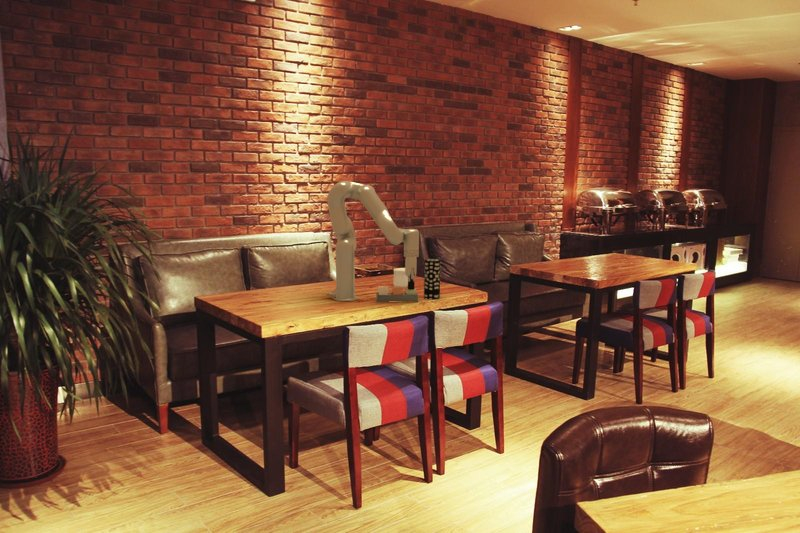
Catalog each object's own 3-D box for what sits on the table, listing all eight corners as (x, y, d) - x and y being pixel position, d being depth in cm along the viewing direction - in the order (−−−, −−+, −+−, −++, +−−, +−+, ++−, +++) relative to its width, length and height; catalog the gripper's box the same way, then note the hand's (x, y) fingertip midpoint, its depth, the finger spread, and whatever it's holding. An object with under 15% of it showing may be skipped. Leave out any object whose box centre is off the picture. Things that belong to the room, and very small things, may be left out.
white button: (378, 297, 325) (378, 288, 324) (378, 296, 330) (378, 286, 329) (388, 297, 326) (388, 288, 325) (387, 295, 330) (387, 286, 329)
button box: (376, 302, 324) (377, 295, 324) (376, 299, 331) (376, 292, 330) (417, 301, 326) (418, 295, 326) (416, 299, 333) (416, 292, 333)
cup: (391, 286, 365) (391, 269, 364) (396, 283, 375) (396, 267, 373) (407, 288, 363) (407, 270, 361) (412, 284, 372) (412, 268, 371)
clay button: (392, 297, 326) (392, 288, 325) (391, 295, 330) (391, 286, 330) (402, 297, 326) (402, 287, 326) (401, 295, 331) (401, 286, 330)
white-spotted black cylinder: (438, 299, 332) (439, 261, 329) (422, 299, 333) (423, 260, 330) (440, 296, 340) (441, 259, 337) (425, 295, 341) (425, 258, 338)
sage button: (406, 299, 327) (406, 290, 326) (405, 297, 331) (405, 288, 331) (415, 299, 327) (415, 290, 326) (414, 297, 332) (414, 288, 331)
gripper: (402, 251, 333) (402, 286, 335) (405, 255, 318) (405, 292, 321) (416, 251, 333) (416, 286, 336) (420, 255, 319) (420, 291, 322)
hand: (411, 289), depth 329 cm, fingers closed
